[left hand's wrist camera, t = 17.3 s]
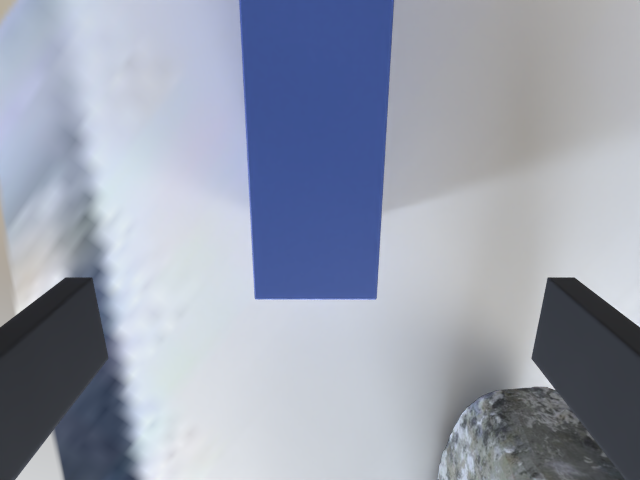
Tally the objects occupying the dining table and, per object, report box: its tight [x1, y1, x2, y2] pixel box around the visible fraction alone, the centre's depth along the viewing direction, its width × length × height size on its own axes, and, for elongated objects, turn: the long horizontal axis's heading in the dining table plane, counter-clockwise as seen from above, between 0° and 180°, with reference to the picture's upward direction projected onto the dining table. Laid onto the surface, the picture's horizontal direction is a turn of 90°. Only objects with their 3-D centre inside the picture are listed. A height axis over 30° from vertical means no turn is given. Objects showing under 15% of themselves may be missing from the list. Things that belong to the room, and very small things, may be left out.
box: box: [239, 0, 394, 300], centre depth 22 cm, size 27×6×12 cm, turn 0°
